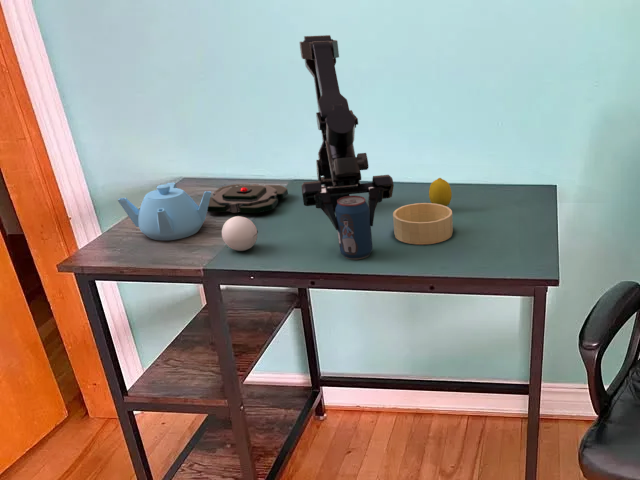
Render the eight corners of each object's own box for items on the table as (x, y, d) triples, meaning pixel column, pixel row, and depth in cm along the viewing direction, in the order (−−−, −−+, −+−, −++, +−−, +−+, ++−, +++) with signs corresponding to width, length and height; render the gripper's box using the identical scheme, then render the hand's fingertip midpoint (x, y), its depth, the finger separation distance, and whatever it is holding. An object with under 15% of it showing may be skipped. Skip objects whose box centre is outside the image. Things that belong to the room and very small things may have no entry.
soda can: (370, 246, 156) (365, 193, 150) (375, 258, 151) (371, 203, 145) (338, 250, 155) (332, 196, 149) (343, 262, 149) (336, 207, 143)
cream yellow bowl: (383, 233, 163) (381, 212, 161) (428, 219, 171) (427, 199, 168) (418, 249, 155) (416, 227, 152) (464, 234, 162) (464, 213, 160)
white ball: (255, 256, 152) (249, 223, 149) (220, 256, 152) (213, 223, 149) (267, 238, 161) (262, 207, 157) (235, 238, 161) (228, 207, 157)
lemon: (453, 206, 179) (452, 174, 175) (450, 214, 174) (449, 181, 170) (431, 205, 179) (430, 174, 175) (427, 213, 175) (426, 181, 170)
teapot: (223, 227, 167) (214, 182, 162) (168, 248, 156) (156, 200, 151) (180, 216, 174) (170, 172, 169) (125, 235, 163) (112, 189, 158)
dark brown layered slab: (226, 193, 189) (223, 175, 187) (292, 194, 188) (290, 177, 185) (197, 216, 174) (193, 197, 172) (269, 218, 172) (266, 199, 170)
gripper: (295, 142, 142) (307, 214, 138) (388, 135, 146) (402, 205, 143) (298, 171, 152) (309, 238, 149) (385, 163, 157) (397, 228, 153)
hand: (354, 227), depth 148 cm, fingers closed on soda can, 7 cm apart
